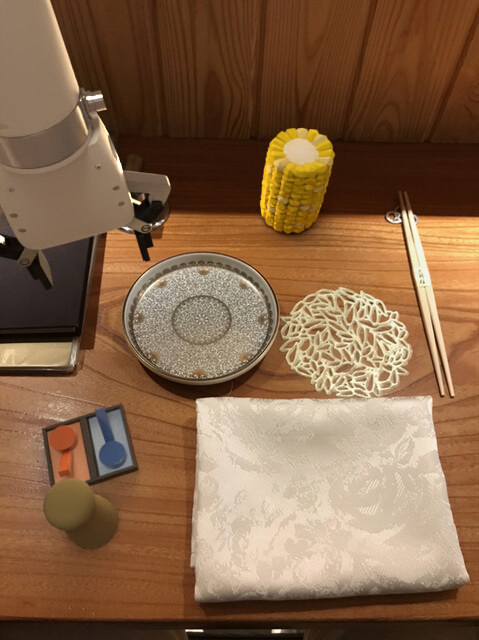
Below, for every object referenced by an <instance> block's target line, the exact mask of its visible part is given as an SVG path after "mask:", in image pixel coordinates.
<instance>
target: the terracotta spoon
mask: <svg viewBox="0 0 479 640" xmlns="http://www.w3.org/2000/svg"><path fill="white" fill-rule="evenodd" d="M77 443H78V435H77V433H76V432H75V431H74V430H73V429H72V428H71V427H70V426H66V425H63V426H59V427H57V428H56V429H54V430H53V432H52V433H51V435H50V445H51V446H52V447H53V448H54V449H55V450H56V451H57V452H59V453H61V459H60V465H59V471H58V473H59V475H60V477H64V476H67V475H70V472H71V464H72V456H73V455H72V452H71V451H72V450H73V449H74V448H75V447H76V445H77Z"/></svg>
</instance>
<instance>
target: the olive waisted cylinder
mask: <svg viewBox="0 0 479 640" xmlns="http://www.w3.org/2000/svg"><path fill="white" fill-rule="evenodd" d="M42 505H43V507H42V508H43V514H44V517H45V519H46V522H48V523H49V524H50V525H51V526H52V527H54V528H55V529H58V530H59V531H64V532H65V533H66V535H67V536H68V537H69V539H70V540H71V542H73V544H75V546H77V547H79V548H81V549H84V550H95V549H100V548H101V547H103V546H105V545H107V544H108V543H109V542H110V541H111V540H112V539H113V538H114V536H115V534H116V532H117V531H118V527H119V521H120V520H119V512H118V509H117V507H116V505H115V503H113V502H112V501H111V500H110V499H109V498H106V497H104V496H102V495H99V494H96V493H95V492H94V490H93V488H92V487H91V486H89V485H88V484H87V483H86V482H84V481H82V480H80V479H75V478H68V479H63V480H61V481H59V482H57V483H55V484H54V485H53V486H52V487H51V486H50V487H49V489H48V491H47V493H46V495H45V496H44V500H43V503H42Z"/></svg>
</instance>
